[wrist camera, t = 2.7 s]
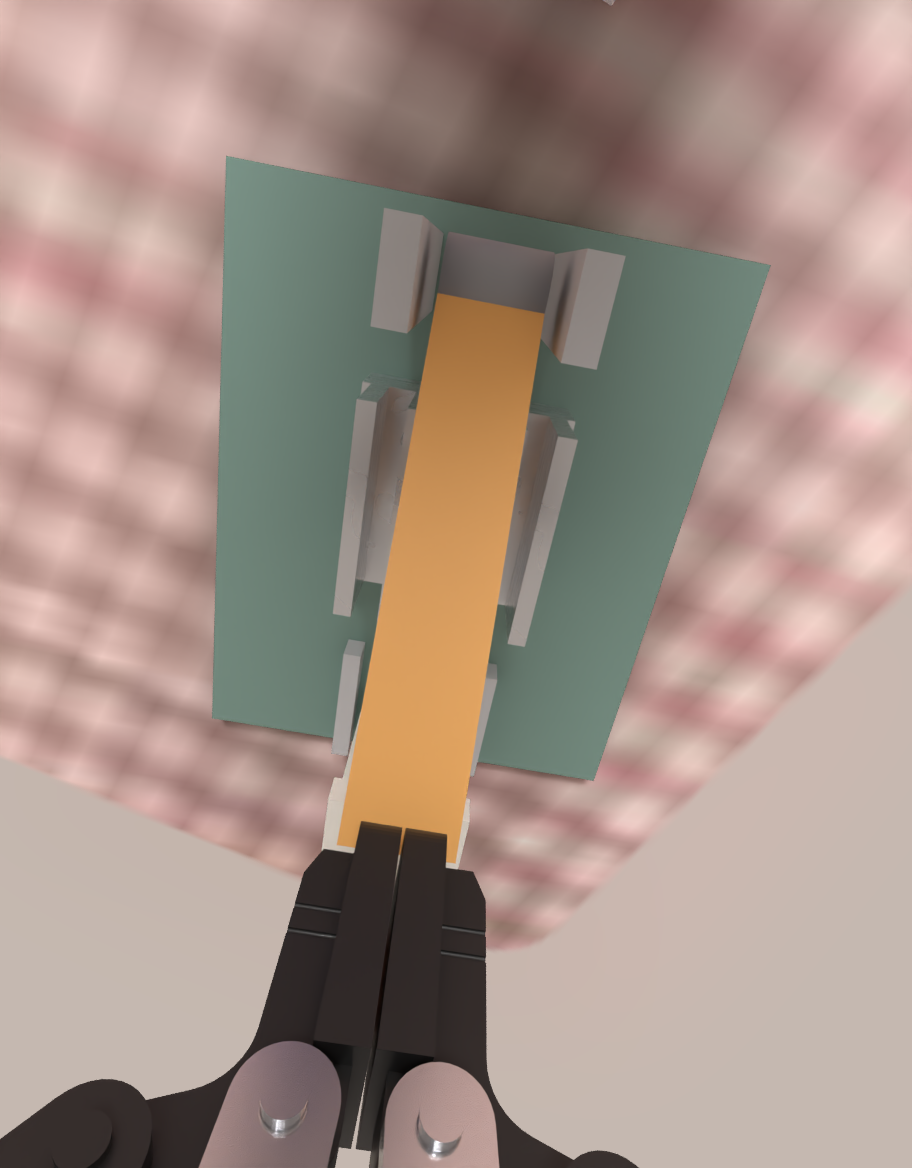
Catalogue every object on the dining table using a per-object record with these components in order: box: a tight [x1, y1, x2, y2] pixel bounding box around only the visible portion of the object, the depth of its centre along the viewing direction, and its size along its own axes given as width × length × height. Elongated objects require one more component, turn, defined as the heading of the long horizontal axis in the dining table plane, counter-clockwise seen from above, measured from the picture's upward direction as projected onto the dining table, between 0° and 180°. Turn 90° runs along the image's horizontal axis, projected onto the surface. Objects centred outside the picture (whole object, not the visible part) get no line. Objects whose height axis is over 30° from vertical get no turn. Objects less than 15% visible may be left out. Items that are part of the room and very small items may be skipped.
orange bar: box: [337, 232, 555, 864], centre depth 14 cm, size 12×2×2 cm
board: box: [212, 156, 771, 781], centre depth 19 cm, size 19×15×8 cm
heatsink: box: [333, 372, 578, 647], centre depth 20 cm, size 6×6×4 cm
